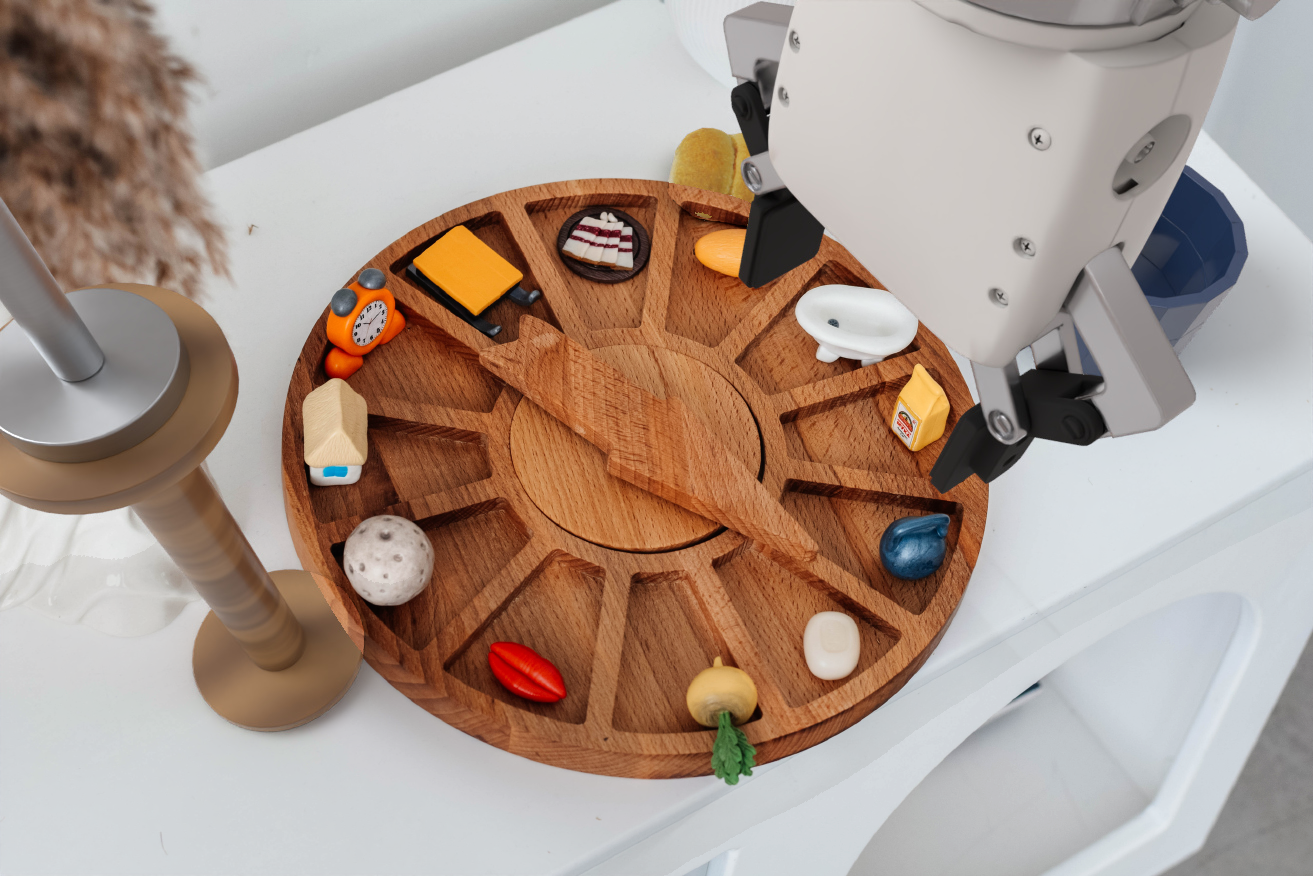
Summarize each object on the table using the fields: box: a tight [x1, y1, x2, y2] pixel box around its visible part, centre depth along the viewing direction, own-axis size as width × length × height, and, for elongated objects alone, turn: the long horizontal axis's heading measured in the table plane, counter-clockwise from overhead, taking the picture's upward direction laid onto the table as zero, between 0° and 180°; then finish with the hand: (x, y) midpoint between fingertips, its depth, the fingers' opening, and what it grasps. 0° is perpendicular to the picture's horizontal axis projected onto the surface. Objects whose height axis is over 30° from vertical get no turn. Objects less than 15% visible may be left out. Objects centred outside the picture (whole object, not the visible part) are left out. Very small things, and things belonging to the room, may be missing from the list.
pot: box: [1028, 164, 1249, 376], centre depth 72 cm, size 14×14×8 cm
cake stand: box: [0, 282, 364, 733], centre depth 48 cm, size 9×9×26 cm
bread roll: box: [667, 127, 755, 219], centre depth 77 cm, size 8×9×4 cm
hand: (868, 361), depth 36 cm, fingers open, 9 cm apart
